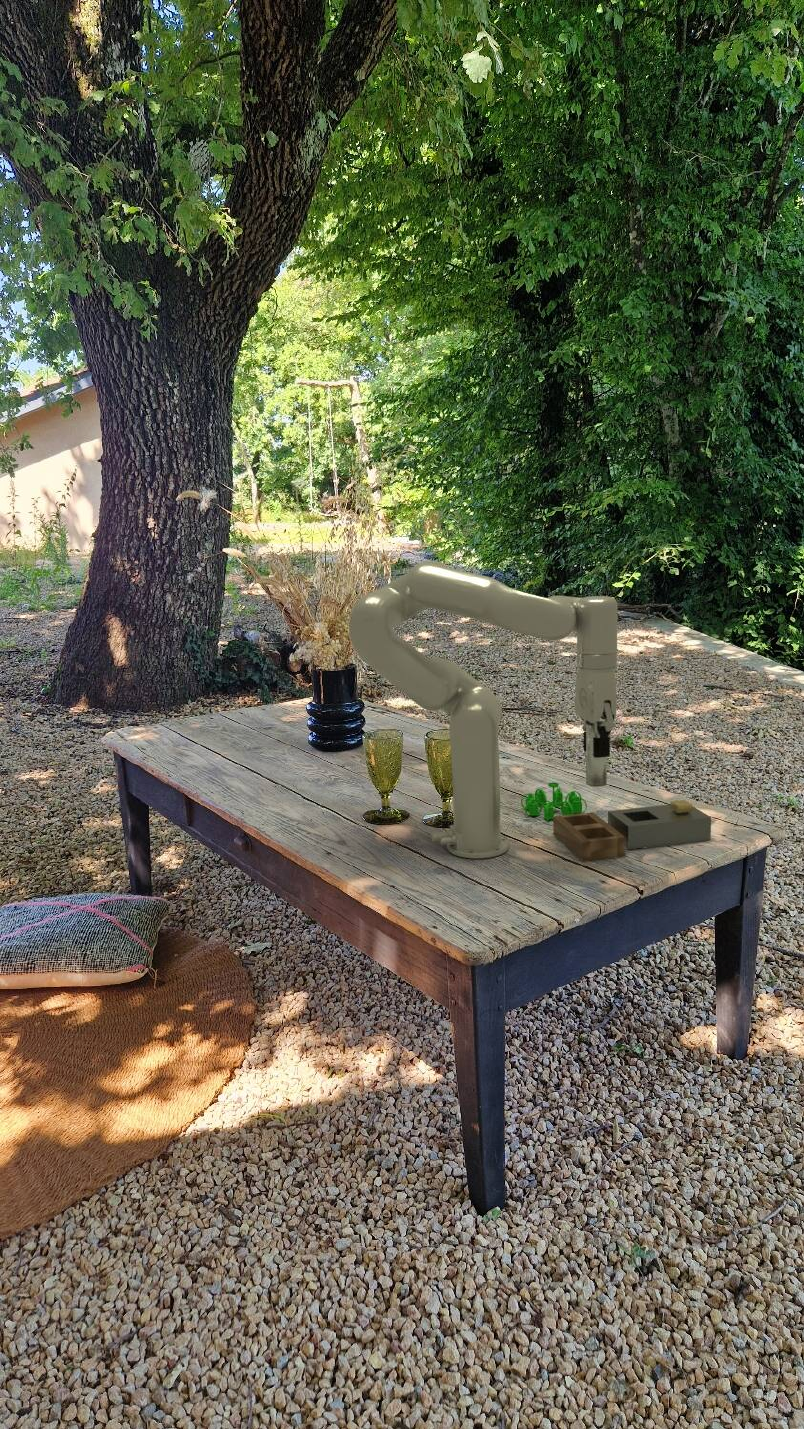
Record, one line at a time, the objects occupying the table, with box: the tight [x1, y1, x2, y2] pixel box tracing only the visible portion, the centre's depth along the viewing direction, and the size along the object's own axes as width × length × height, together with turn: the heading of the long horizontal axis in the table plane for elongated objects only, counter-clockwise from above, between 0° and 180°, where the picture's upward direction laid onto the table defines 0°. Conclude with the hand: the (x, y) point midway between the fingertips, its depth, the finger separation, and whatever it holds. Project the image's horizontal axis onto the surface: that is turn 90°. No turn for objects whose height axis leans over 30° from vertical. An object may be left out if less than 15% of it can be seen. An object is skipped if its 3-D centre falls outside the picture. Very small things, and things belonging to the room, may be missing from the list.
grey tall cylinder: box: [585, 723, 608, 788], centre depth 177 cm, size 4×4×12 cm
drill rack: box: [552, 811, 626, 863], centre depth 185 cm, size 9×16×4 cm, turn 11°
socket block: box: [607, 804, 712, 851], centre depth 188 cm, size 18×10×5 cm, turn 101°
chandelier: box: [520, 782, 588, 822], centre depth 206 cm, size 15×15×7 cm
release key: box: [669, 799, 693, 814], centre depth 188 cm, size 3×3×6 cm
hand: (596, 752), depth 177 cm, fingers closed on grey tall cylinder, 4 cm apart
